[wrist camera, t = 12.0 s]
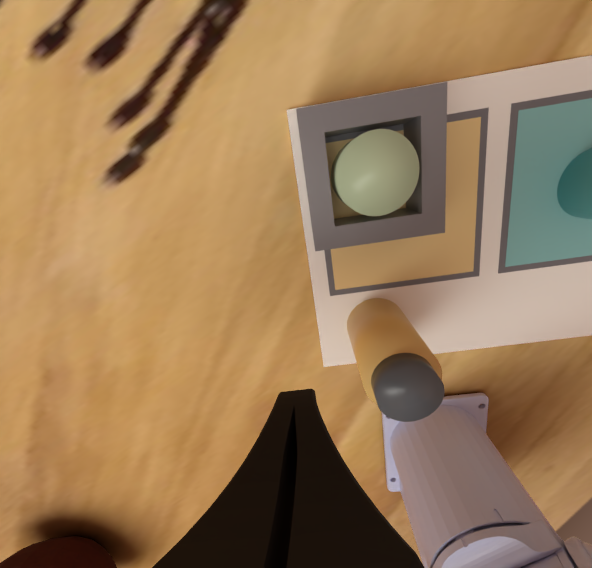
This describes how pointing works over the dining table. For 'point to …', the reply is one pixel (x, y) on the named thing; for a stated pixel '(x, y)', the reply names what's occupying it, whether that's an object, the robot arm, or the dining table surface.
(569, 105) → the picture card
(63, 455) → the dining table surface
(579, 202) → the teal capped bottle
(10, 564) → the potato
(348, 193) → the button
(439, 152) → the button collar
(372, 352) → the tan bottle
